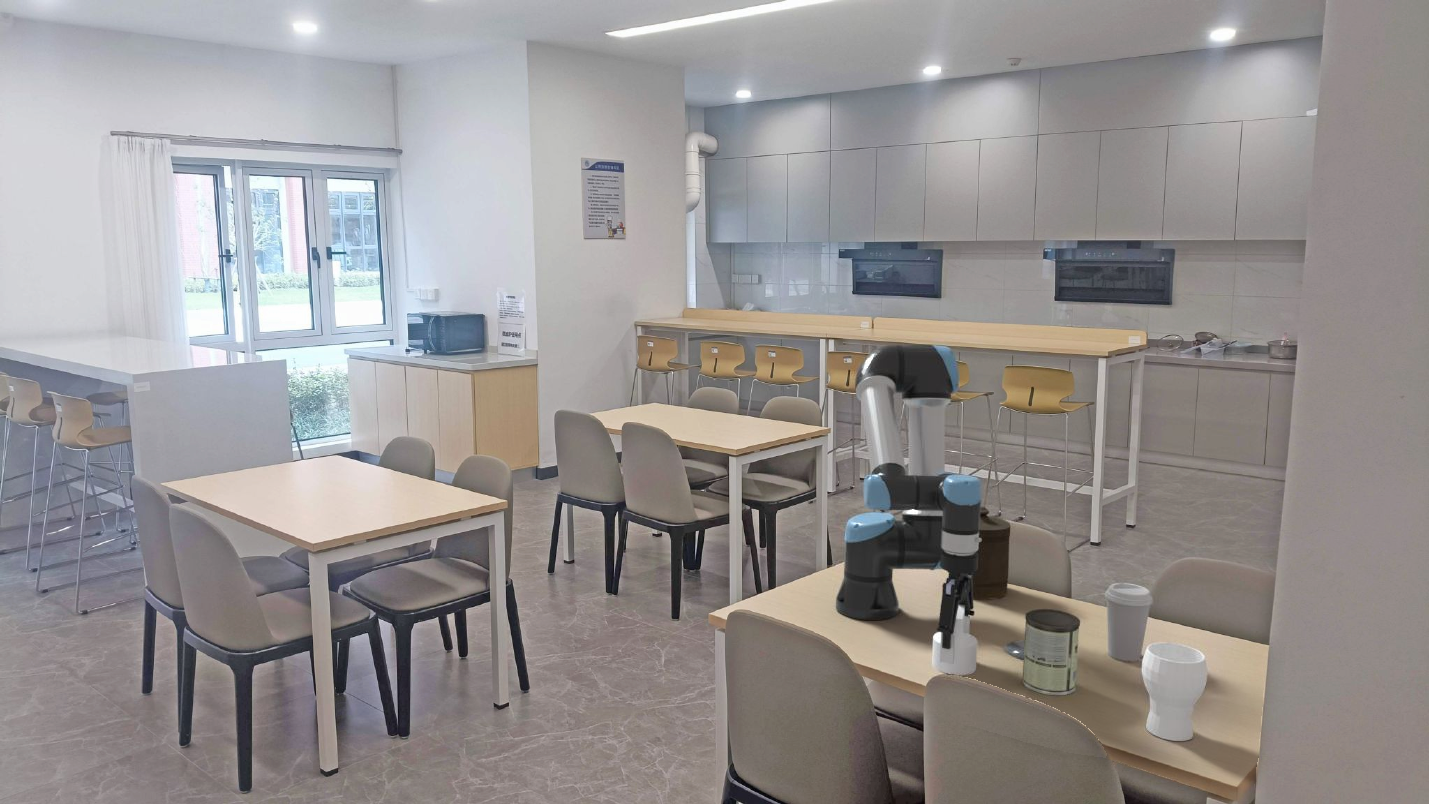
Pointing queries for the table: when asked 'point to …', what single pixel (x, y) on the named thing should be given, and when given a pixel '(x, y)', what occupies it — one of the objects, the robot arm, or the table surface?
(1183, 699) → the cup
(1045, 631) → the coffee can
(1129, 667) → the table surface
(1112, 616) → the coffee cup
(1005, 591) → the wooden container
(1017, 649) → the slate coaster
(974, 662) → the base with upright slab
